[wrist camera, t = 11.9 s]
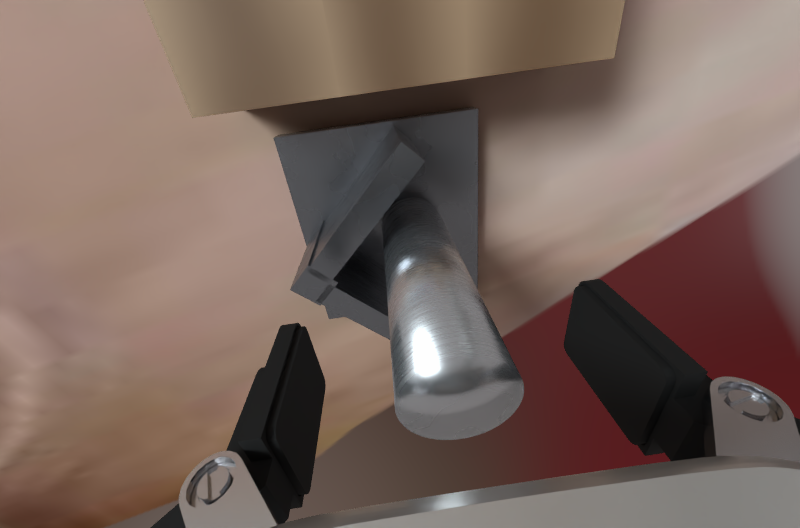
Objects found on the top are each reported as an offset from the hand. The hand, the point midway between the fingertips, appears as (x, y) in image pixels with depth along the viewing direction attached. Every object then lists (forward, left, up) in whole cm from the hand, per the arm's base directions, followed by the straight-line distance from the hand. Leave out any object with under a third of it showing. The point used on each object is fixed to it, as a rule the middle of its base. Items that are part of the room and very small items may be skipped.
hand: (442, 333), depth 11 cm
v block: (+1, 0, -10) cm, 10 cm away
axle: (0, 0, -9) cm, 9 cm away
